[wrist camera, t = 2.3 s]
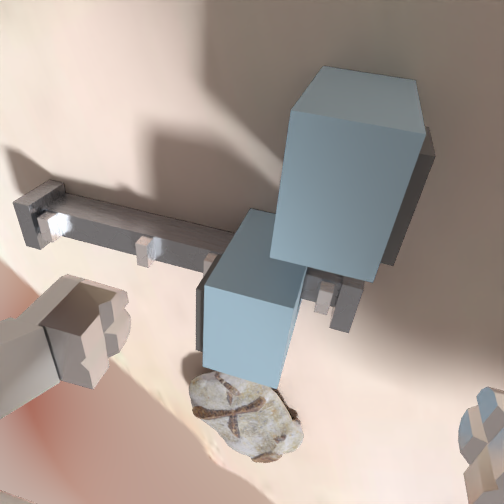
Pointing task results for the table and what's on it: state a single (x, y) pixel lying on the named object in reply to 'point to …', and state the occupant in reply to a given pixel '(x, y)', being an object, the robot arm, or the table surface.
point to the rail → (160, 242)
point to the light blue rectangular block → (248, 305)
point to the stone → (245, 416)
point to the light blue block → (351, 173)
